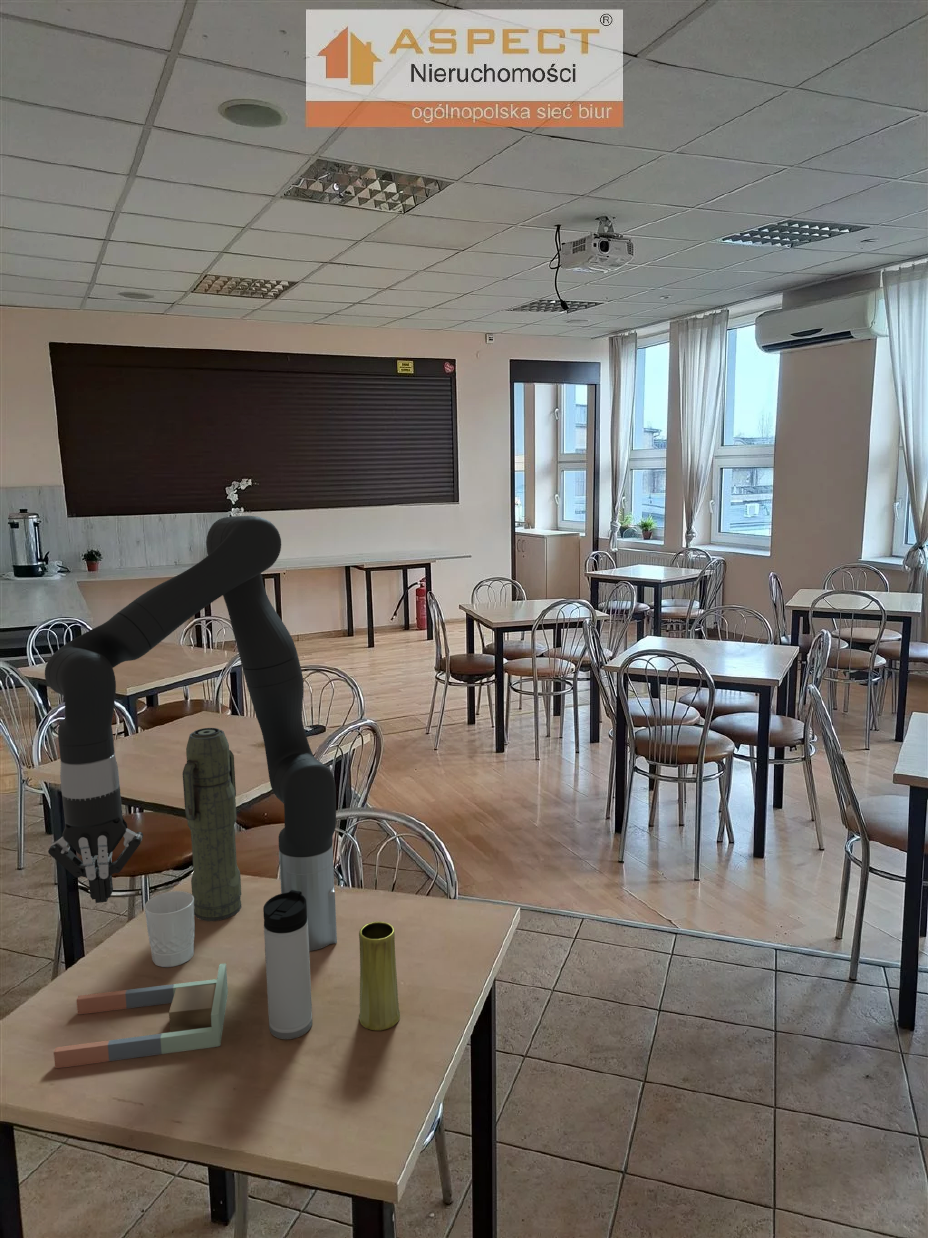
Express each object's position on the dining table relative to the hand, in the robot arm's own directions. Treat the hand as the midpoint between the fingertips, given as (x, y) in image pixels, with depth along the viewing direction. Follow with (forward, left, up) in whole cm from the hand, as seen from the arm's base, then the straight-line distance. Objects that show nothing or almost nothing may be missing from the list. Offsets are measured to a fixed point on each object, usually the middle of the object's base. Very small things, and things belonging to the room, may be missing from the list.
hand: (102, 899), depth 120 cm
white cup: (-6, -17, -20) cm, 27 cm away
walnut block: (-12, +2, -20) cm, 24 cm away
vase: (-39, +7, -20) cm, 45 cm away
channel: (-5, +2, -20) cm, 21 cm away
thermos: (-12, -32, -20) cm, 40 cm away
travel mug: (-26, +6, -20) cm, 34 cm away
